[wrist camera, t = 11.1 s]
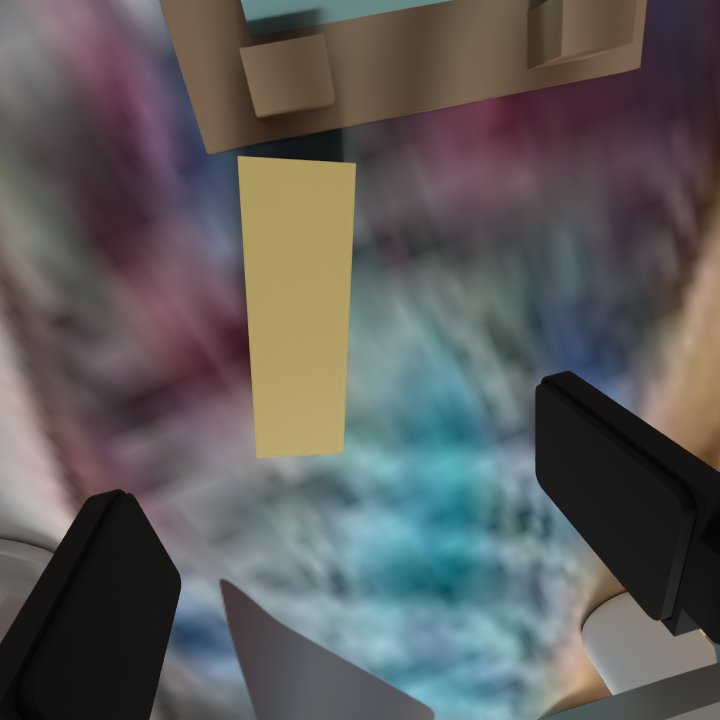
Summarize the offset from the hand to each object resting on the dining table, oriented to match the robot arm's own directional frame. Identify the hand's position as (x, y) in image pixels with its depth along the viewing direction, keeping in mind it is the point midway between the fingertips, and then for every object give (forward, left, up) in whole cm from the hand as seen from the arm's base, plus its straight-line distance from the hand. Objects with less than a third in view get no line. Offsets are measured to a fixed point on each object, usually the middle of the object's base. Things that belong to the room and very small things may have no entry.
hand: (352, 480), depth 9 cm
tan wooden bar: (-1, 0, -14) cm, 14 cm away
